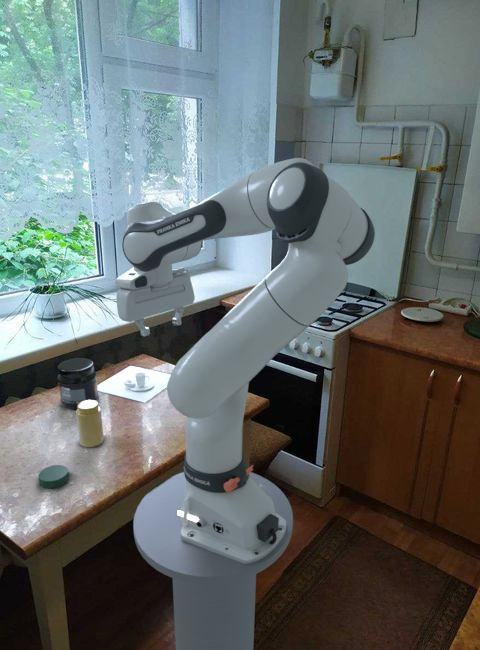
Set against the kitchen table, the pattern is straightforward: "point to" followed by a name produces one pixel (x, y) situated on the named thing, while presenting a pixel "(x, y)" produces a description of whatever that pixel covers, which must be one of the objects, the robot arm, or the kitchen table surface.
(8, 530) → the kitchen table surface
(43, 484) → the jar lid
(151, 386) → the teacup and saucer
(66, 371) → the supplement container
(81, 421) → the jam jar
